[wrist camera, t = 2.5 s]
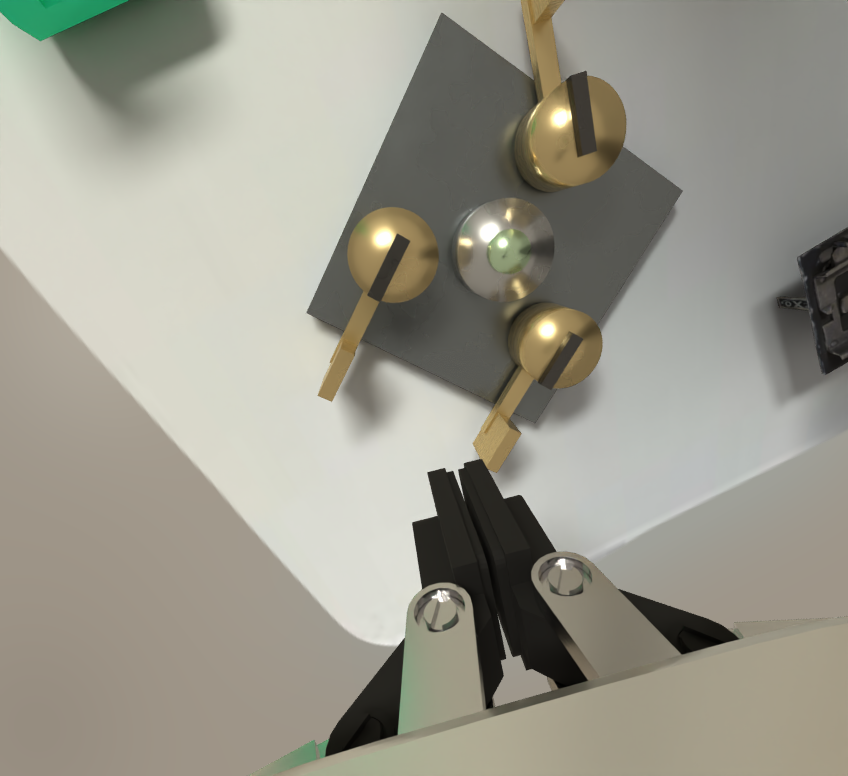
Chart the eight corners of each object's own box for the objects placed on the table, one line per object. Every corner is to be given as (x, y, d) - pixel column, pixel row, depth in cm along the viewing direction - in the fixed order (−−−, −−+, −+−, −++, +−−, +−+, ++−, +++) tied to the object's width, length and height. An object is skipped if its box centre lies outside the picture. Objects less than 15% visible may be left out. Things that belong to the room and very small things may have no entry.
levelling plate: (437, 24, 21) (451, -21, 17) (668, 193, 25) (718, 184, 21) (309, 309, 25) (298, 320, 21) (528, 416, 29) (551, 440, 25)
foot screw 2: (599, 178, 23) (637, 166, 20) (523, 202, 23) (549, 195, 20) (568, -55, 19) (608, -117, 16) (478, -28, 19) (500, -84, 16)
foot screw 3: (532, 289, 24) (557, 296, 21) (590, 323, 26) (623, 334, 22) (448, 433, 27) (459, 459, 24) (505, 458, 28) (523, 486, 25)
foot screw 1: (372, 195, 22) (372, 186, 19) (444, 237, 23) (456, 236, 20) (294, 364, 24) (283, 383, 21) (364, 395, 25) (363, 417, 22)
